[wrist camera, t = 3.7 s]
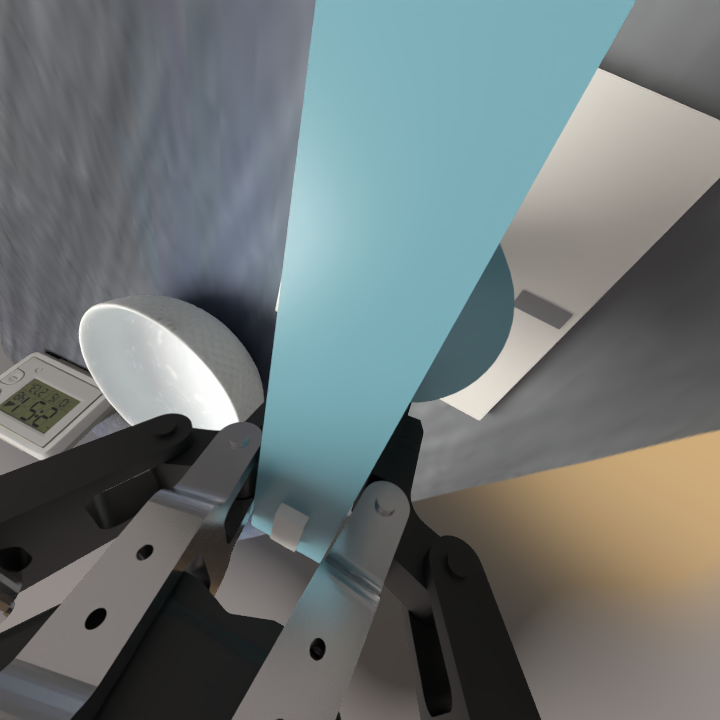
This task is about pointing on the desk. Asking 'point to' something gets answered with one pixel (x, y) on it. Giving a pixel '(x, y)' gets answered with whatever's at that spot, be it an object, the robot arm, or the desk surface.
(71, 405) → the digital clock
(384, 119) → the blue switch lever
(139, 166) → the desk surface
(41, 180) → the desk surface
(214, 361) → the cereal bowl
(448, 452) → the desk surface
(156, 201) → the desk surface
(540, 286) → the base plate
